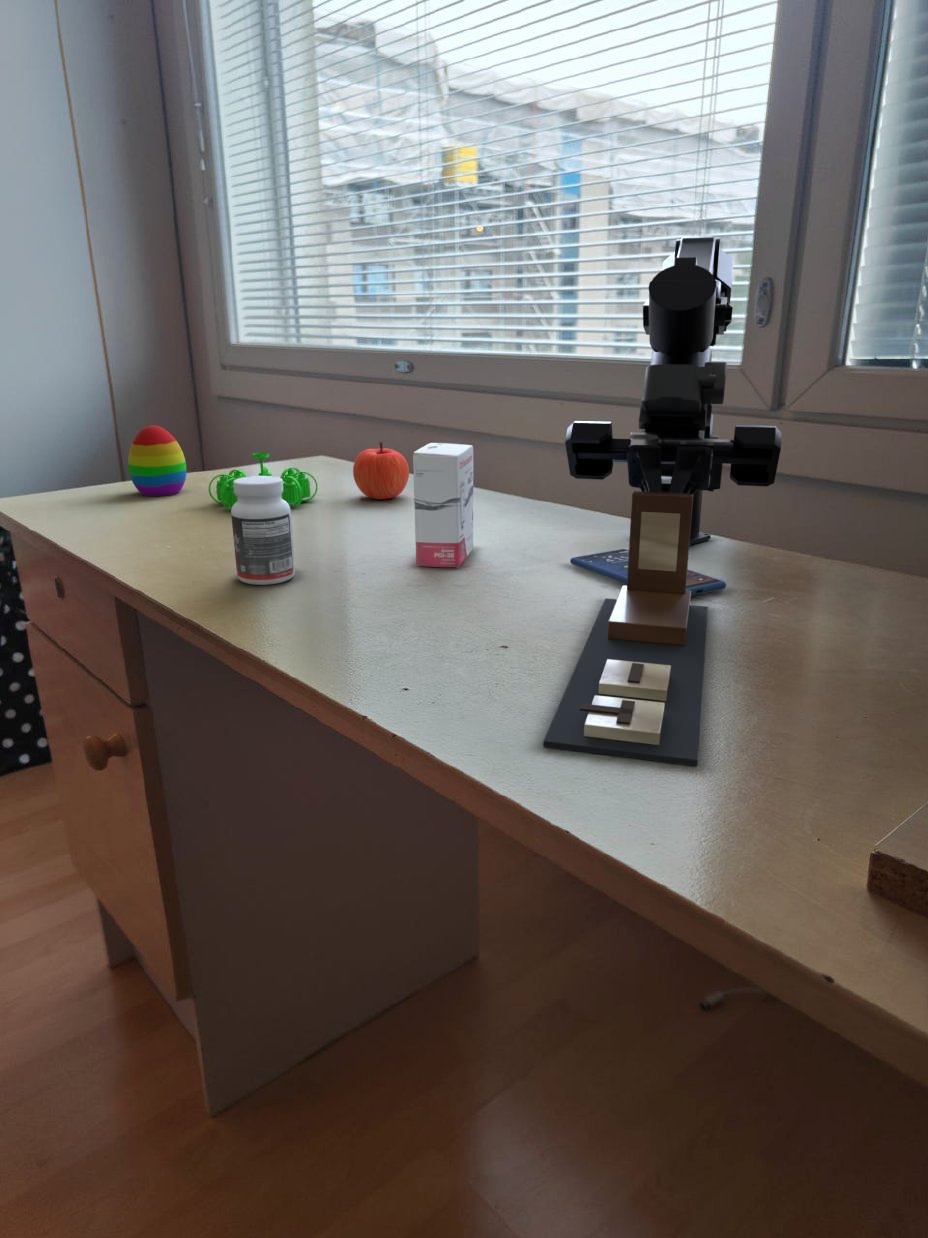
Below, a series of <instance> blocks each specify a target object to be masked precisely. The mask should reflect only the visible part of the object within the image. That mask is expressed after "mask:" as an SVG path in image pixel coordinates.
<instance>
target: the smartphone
mask: <svg viewBox="0 0 928 1238" xmlns="http://www.w3.org/2000/svg"><path fill="white" fill-rule="evenodd" d="M628 558H629V549H626V548H620V549H613V550H608V551H603V552H597V553H590V554H584V555H579V556H573V557H571V558H570V564H571V565H573V566H576V567H578V568H581V569H583V570H586V571H589V572H592V573H594V574H596V575H600V576H602V577H604V578H608V579H610V580H613V581H615V582H618V583H620V584H623V585H625V586H627V575H628ZM726 587H727V583H726V581H724V580H721V579H719V578H715V577H713V576H709V575H706V574H703V573H700V572H697V571H694V570H690V569H688V568H687V580H686V590H689V591H691V597H692V596H697V595H702V594H706V593H711V592H715V591H720V590H721V591H722V590H724V589H725V588H726Z"/></svg>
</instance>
